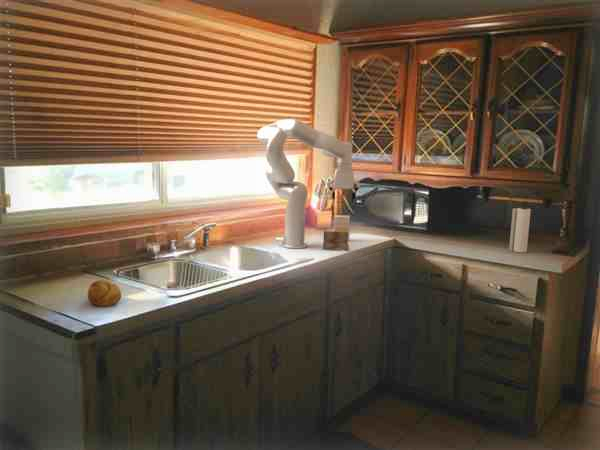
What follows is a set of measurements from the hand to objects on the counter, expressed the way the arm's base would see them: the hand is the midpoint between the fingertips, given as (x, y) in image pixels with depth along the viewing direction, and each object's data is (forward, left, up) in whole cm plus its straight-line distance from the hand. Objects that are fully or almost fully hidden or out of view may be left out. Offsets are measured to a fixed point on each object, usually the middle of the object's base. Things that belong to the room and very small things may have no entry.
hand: (343, 199), depth 278 cm
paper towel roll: (+87, -11, -22) cm, 90 cm away
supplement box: (0, 0, -22) cm, 22 cm away
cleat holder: (-3, -19, -21) cm, 29 cm away
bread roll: (-77, -116, -22) cm, 141 cm away
